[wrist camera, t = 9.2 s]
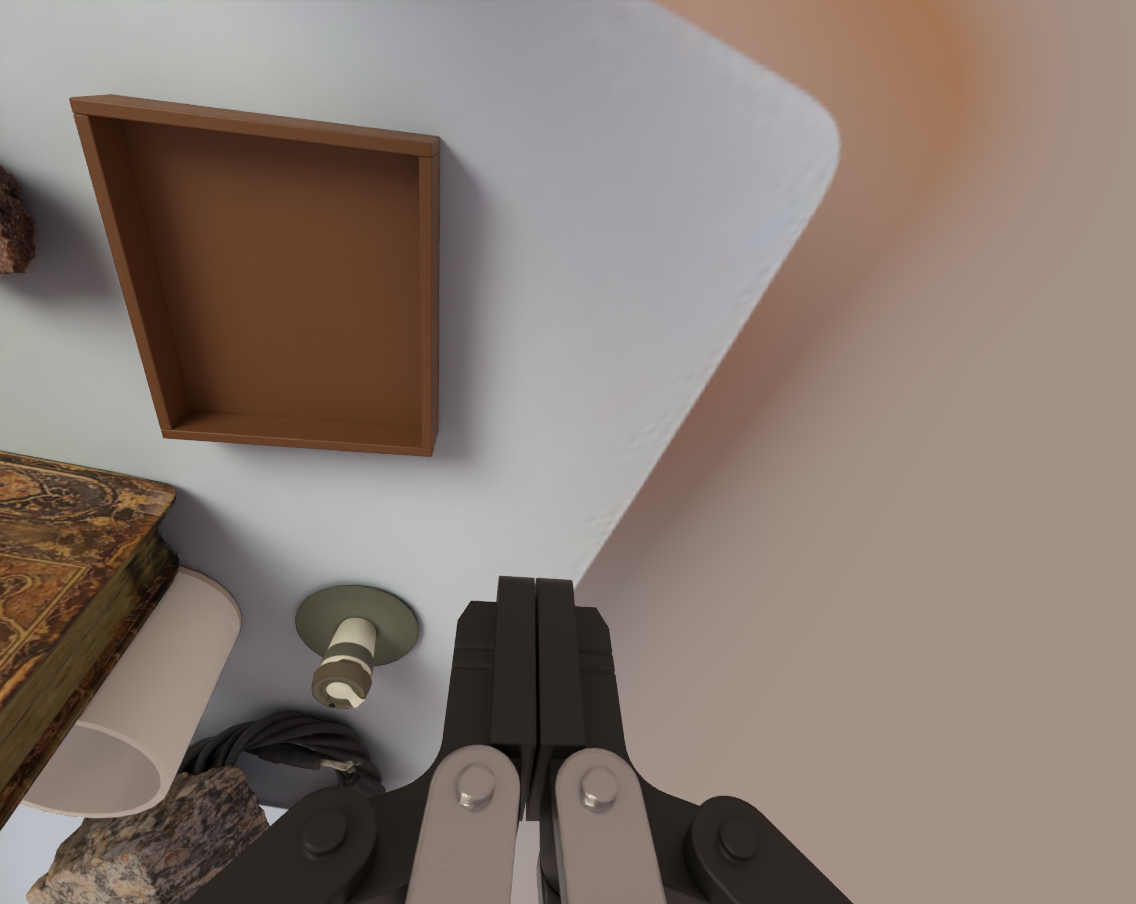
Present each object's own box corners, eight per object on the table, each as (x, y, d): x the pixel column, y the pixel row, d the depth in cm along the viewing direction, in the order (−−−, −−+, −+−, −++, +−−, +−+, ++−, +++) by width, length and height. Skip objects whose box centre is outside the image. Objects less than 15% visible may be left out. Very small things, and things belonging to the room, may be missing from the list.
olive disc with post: (302, 532, 35) (271, 596, 31) (484, 606, 39) (479, 671, 35) (236, 651, 40) (201, 720, 36) (403, 706, 44) (390, 773, 40)
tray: (109, 94, 23) (67, 97, 21) (440, 136, 25) (432, 143, 22) (187, 412, 31) (162, 438, 28) (438, 431, 32) (431, 457, 30)
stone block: (216, 975, 35) (304, 859, 42) (141, 850, 34) (245, 752, 41) (74, 976, 40) (174, 872, 47) (3, 867, 39) (117, 777, 46)
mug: (215, 547, 35) (113, 704, 27) (272, 647, 40) (201, 808, 32) (31, 569, 36) (-130, 732, 27) (109, 666, 40) (-5, 830, 32)
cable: (259, 836, 53) (238, 893, 49) (127, 758, 46) (92, 817, 43) (420, 777, 49) (411, 834, 46) (303, 683, 42) (280, 741, 39)
